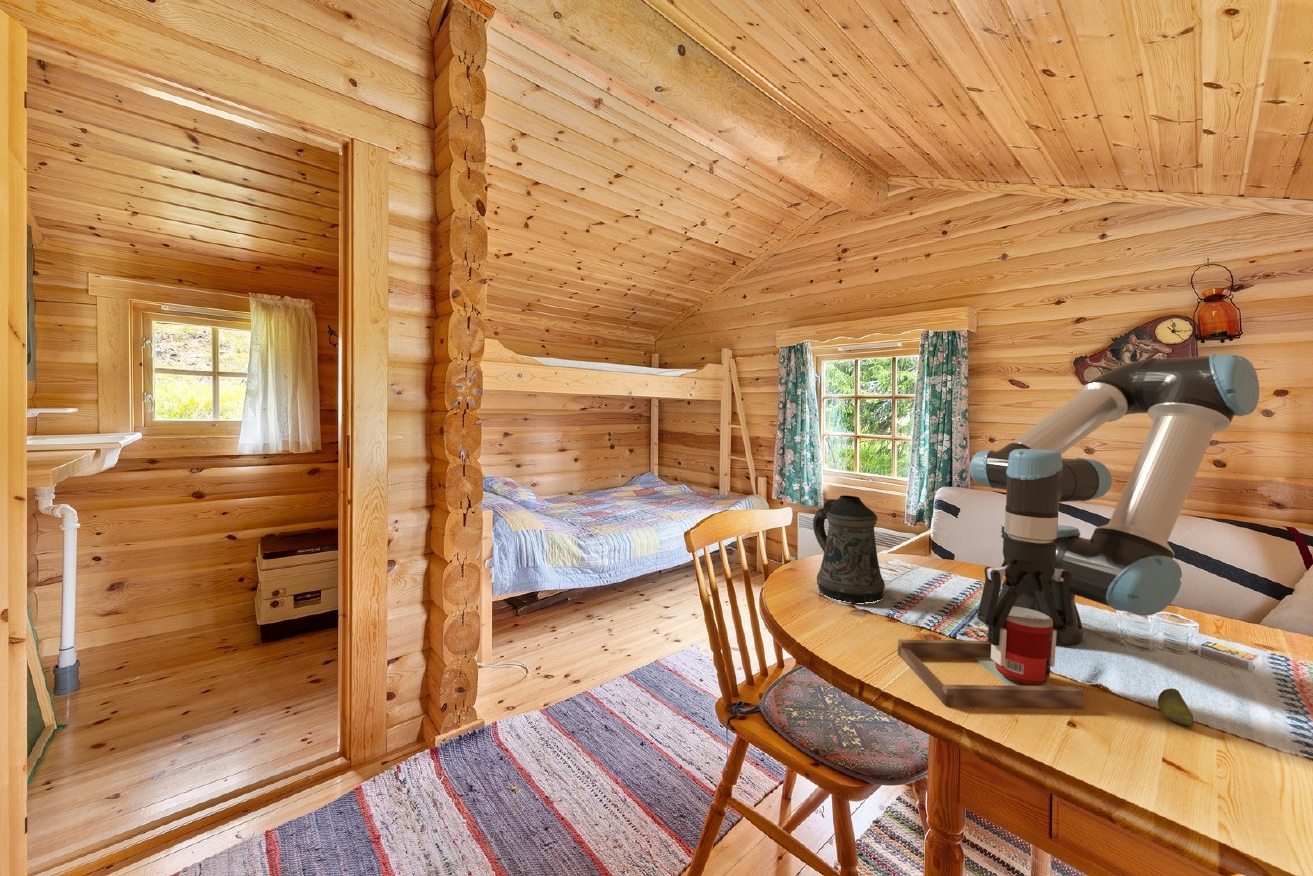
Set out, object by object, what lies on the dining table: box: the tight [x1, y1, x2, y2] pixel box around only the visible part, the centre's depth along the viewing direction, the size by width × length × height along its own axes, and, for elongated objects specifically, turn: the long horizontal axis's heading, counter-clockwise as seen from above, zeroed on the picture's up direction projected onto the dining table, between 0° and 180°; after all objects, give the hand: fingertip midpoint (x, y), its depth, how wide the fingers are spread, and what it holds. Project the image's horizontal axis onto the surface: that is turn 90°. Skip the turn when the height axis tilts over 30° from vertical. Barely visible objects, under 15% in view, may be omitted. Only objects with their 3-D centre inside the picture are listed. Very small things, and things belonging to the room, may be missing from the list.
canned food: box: [995, 606, 1053, 685], centre depth 90 cm, size 8×8×11 cm
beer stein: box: [812, 494, 886, 603], centre depth 131 cm, size 16×19×25 cm
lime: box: [1157, 688, 1195, 727], centre depth 79 cm, size 4×5×5 cm
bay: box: [897, 638, 1085, 710], centre depth 90 cm, size 22×17×3 cm
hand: (1022, 662), depth 90 cm, fingers closed on canned food, 8 cm apart
